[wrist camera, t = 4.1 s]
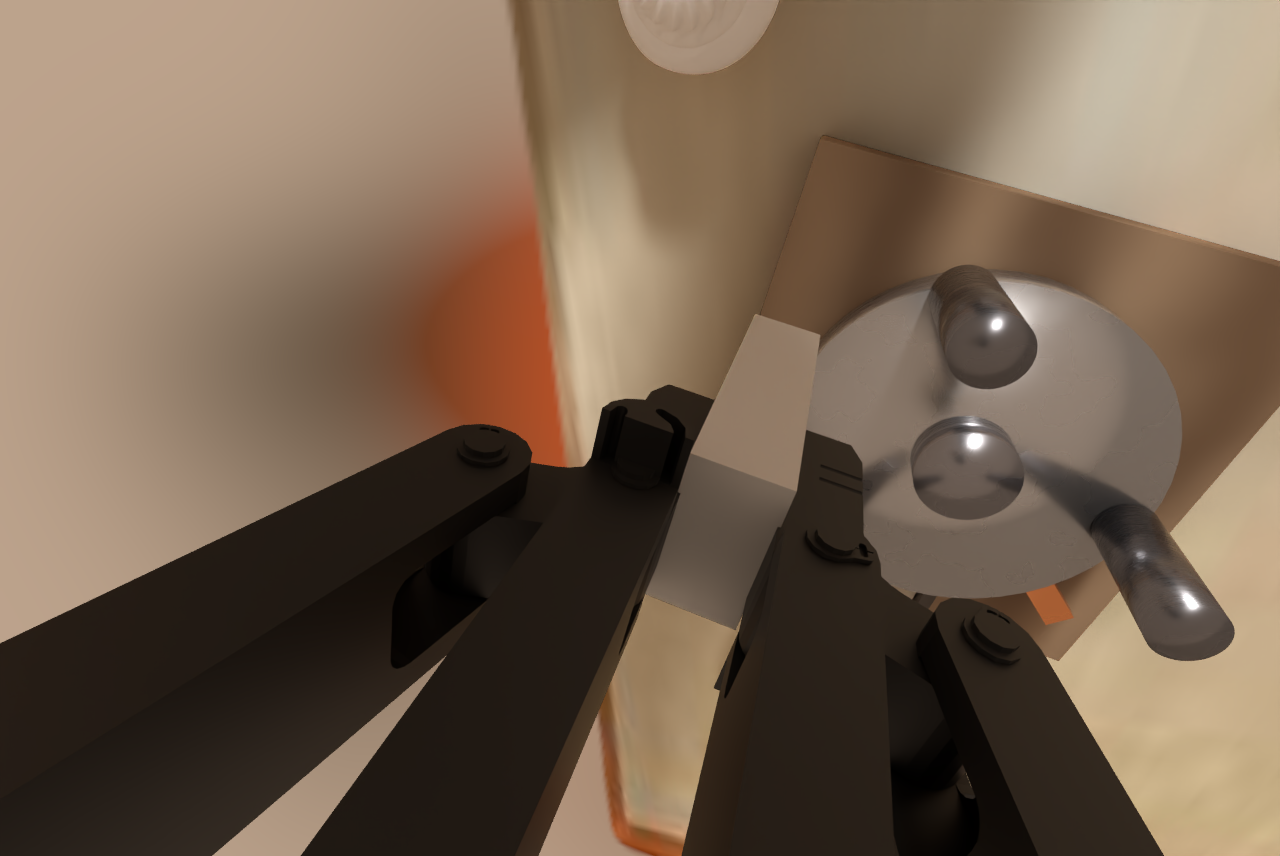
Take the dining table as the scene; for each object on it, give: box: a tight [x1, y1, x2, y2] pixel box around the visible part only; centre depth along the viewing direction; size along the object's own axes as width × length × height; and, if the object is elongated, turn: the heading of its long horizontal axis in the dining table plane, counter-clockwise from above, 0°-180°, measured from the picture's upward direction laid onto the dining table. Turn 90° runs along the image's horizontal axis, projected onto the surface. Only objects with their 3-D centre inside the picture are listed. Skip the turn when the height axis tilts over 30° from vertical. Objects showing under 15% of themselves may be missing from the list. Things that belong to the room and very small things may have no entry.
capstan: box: [806, 265, 1234, 661], centre depth 25 cm, size 16×15×8 cm
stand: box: [760, 135, 1280, 661], centre depth 30 cm, size 20×20×3 cm
